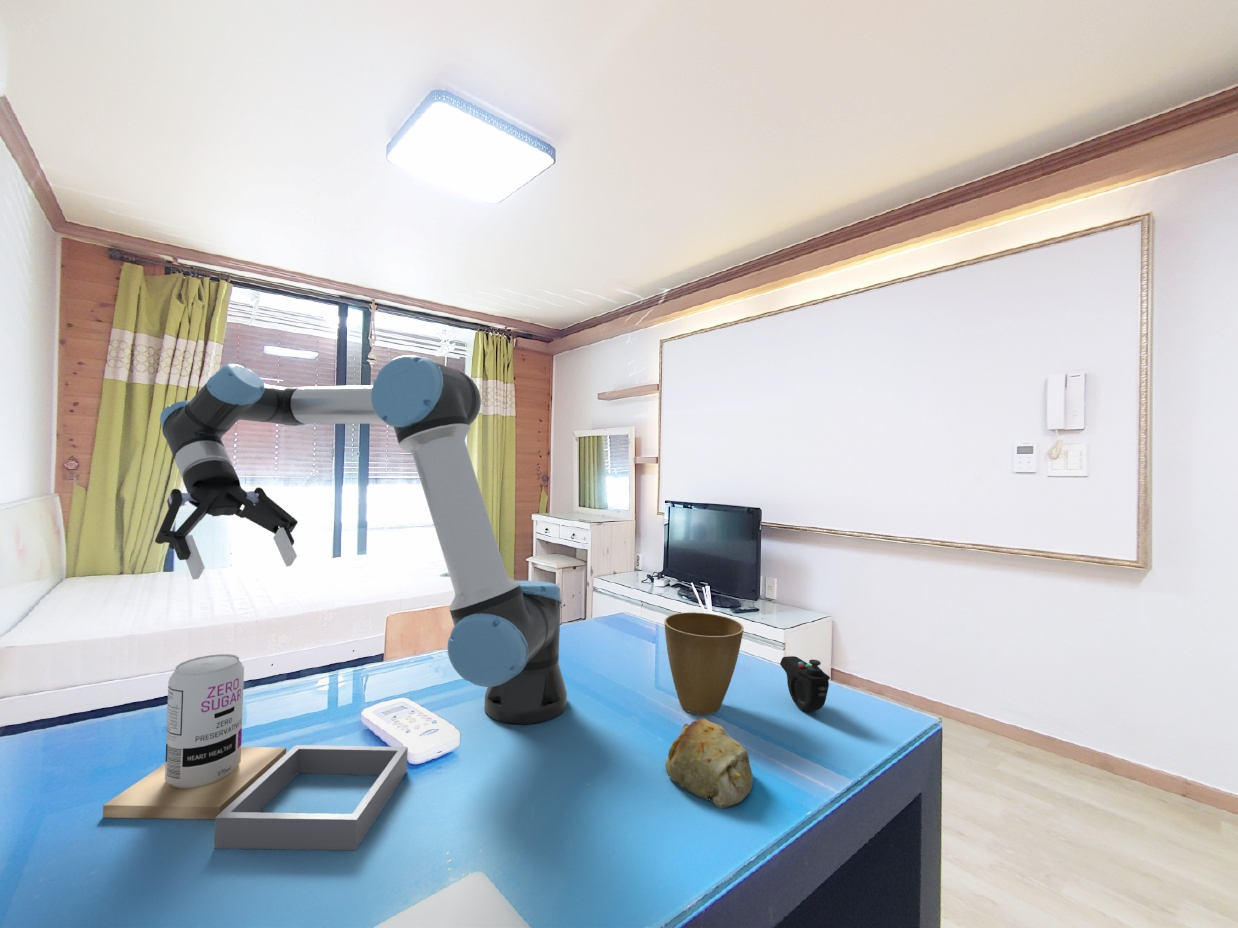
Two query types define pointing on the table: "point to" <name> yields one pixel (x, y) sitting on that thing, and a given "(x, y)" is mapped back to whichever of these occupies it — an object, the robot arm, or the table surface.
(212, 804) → the pad
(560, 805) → the table surface
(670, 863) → the table surface
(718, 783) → the pastry
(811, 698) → the controller
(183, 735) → the supplement can
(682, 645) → the plant pot
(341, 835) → the bin
